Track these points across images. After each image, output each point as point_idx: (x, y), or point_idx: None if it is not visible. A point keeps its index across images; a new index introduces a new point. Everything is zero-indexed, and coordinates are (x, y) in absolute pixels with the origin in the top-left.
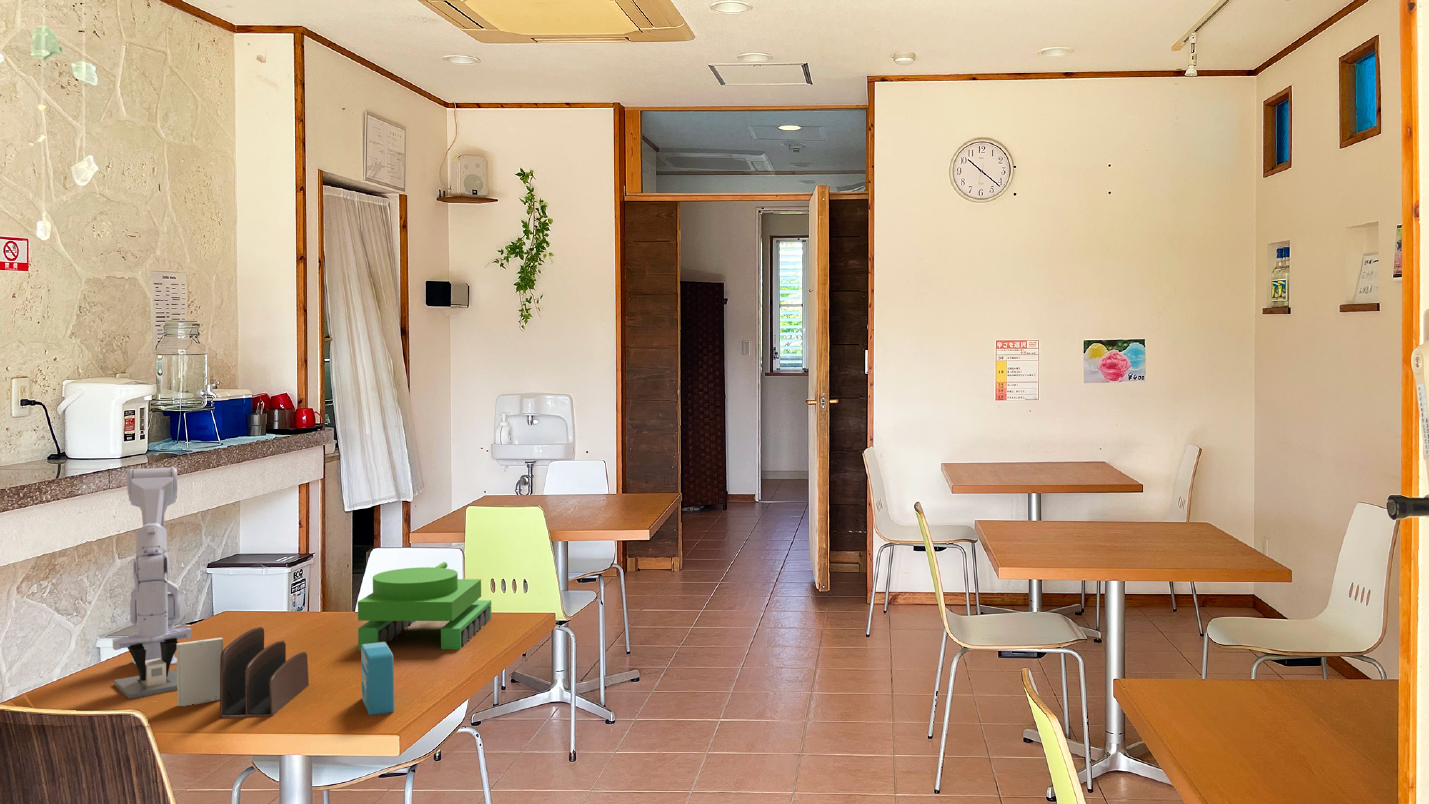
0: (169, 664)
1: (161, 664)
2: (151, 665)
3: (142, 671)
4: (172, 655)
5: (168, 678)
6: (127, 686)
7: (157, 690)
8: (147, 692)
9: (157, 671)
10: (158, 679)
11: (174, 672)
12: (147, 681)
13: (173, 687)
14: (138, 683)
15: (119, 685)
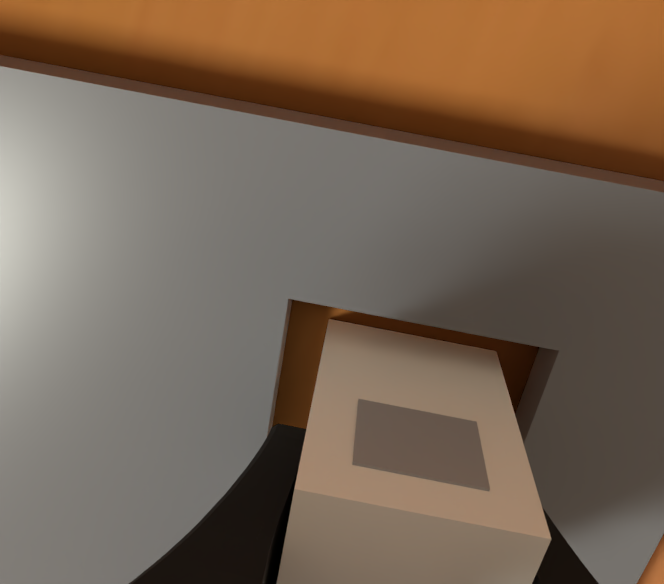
0: (231, 496)
1: (355, 495)
2: (487, 534)
3: (557, 537)
4: (156, 575)
5: (254, 439)
6: (633, 492)
7: (515, 163)
8: (622, 183)
9: (411, 443)
10: (399, 383)
11: (145, 555)
12: (510, 406)
13: (342, 128)
14: None
15: (636, 576)
